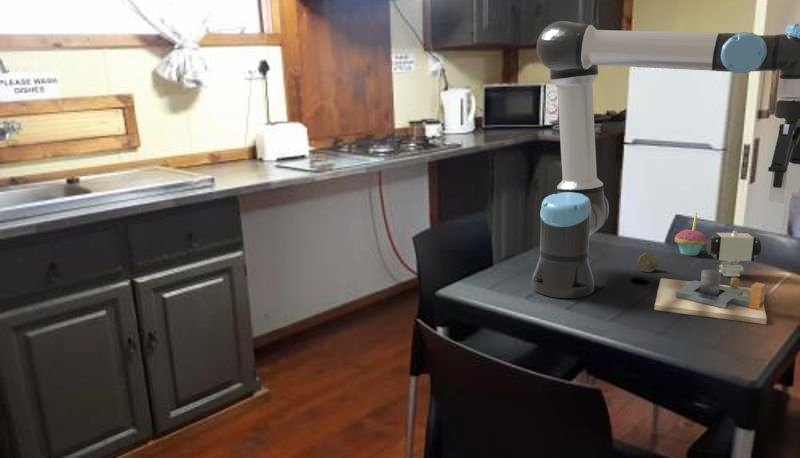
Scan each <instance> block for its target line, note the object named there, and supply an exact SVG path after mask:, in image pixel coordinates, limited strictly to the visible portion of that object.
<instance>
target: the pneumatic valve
mask: <svg viewBox="0 0 800 458" xmlns="http://www.w3.org/2000/svg"><path fill="white" fill-rule="evenodd" d="M761 251H762V243H761V240H760V239H759V238H757V237H756V236H755V235H753V234H752V233H749V232H738V231H737V230H733V231H732V232H713V234H712V235H711V237H707V239H706V253H707V255H711V257H712V258H713V259H714V260H715V261H721V262H720V264H719V265H718V271H719V272H721V275H722V276H724V277H726V278H727V277H729V278H739V277H741V275H742V274H743V272H744V266H743V264H740V262H754V261H755V258H756V257H757V256H760V254H761Z"/></svg>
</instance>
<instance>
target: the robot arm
mask: <svg viewBox="0 0 800 458" xmlns="http://www.w3.org/2000/svg"><path fill="white" fill-rule="evenodd" d="M536 54H537V57H538V59H539V61H540V63H541V64H542V65H543V66H544V67H545V68H547V69H548V70H549V74H550V77H549V78H550V82H551V83H552V84H553V85H554V86H555V87H556V88H557V89H556V90H557V105H558V108H557V109H558V122H559V123H558V124H559V126H558V127H559V138H560V139H559V140H560V141H559V142H560V157H561V158H560V159H561V174H562V176H561V177H562V180H561V182H559V184H558V185H557V186H556V188H557V189H556V190H557V191H556V192H557V193H552V194H550V195H547V196H546V197H544V199H543V200H542V202H541V206H540V207H541V208H540V212H539V215H540V216H539V217H540V227H539V228H540V229H539V231H540V235H539V236H540V237H539V238H540V240H539V259H538V262H537V264H536V267H535V269H534V273H533V275H532V278H531V288H532V290H533V291H534V292H536V293H538V294H540V295H543V296H547V297H552V298H560V299H575V298H576V299H577V298H583V297H587V296H589V295H591V294H593V293H594V291H595V280H594V279H595V278H594V276H593V272H592V269H591V265H590V262H589V247H590V236H592V235H593V234H594V233H596V232H597V231H599V230H600V229H601V228H602V227H603V226H604V224H605V223H606V222H607V219H608V217H609V213H610V204H609V202H608V199H607V198H606V196H605V194H604V183H603V182H602V181H601V180H600V179H599V178H598V176H597V175H598V174H597V172H598V171H597V154H596V134H595V131H596V130H595V115H594V114H595V113H594V93H593V92H594V91H593V84H594V82H595V80H596V79H597V78H598V77H599V66H609V67H610V66H611V67H628V68H633V67H634V68H648V69H649V68H650V69H651V68H652V69H667V70H668V69H671V70H689V71H691V70H693V71H710V72H712V71H713V72H725V73H728V72H729V73H734V74H747V73H750V72H751V73H752V72H770V71H771V72H776V71H778V72H779V73H780V74H779V78H778V85H777V93H776V97H778V98H779V100H777V101H776V103H775V110H774V117H775V118H777V119H784V120H785V121H784V123H780V125H779V126H778V134H777V135H778V136H777V139H776V142H775V148H774V152H773V156H772V160H771V164H770V166H768V169H767V171H768V172H770V173H772V174H771V180H770V189H769V197H768V202H769V203H778V204H784V203H785V198H786V193H791V194H792V193H793V194H799V191H800V23H791V24H787V26H786V27H785V31H784V33H780V34H766V35H764V34H763V35H758V34H755V33H754V32H740V33H738V32H733V33H732V32H724V33H723V32H721V33H720V32H701V31H700V32H699V31H698V32H695V31H692V32H691V31H690V32H689V31H659V30H658V31H656V30H612V29H611V30H608V29H605V30H604V29H597V28H596V27H595V26H594V25H592V24H586V23H584V22H573V21H569V20H560V21H555V22H553V23H551V24H549V25H547V26H546V27H545V28H544V29H543V30H542V31H541V33H540V35H539V36H538V39H537V42H536Z"/></svg>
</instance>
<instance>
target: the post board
mask: <svg viewBox="0 0 800 458" xmlns="http://www.w3.org/2000/svg"><path fill="white" fill-rule="evenodd" d="M700 275H701V276H700V281H701V284H700V292H698V293H702V294H707V295H711V296H716V297H718V296H719V295H721V294H719V288H720V286H725V287H730V288H734V289H739V290H743V295H742V296H745V297H750V295H751V287H746V286H745V287H744V286H740V279H741V278H739V277H730V285H726V284H725V285H724V284H721V280H722V279H721V277H722V273H721V272H719V270H717V269H702V270H701V274H700ZM691 282H692V281H688V280H681V279H670V278H660V280H659V285H658V288H657V293H656V298H655V303H654V311H660V312H668V313H675V314H682V315H690V316H697V317H698V316H699V317H708V318H715V319H722V320H728V321H729V320H730V321H739V322H744V323H751V324H752V323H753V324H761V325H767V321H768V318H767V314H766V309H765V304H764V305H763V306H762V307H761V308H760V309H755V308H750V307H746V306H741V305H737V304H731V305H729V306H728V307H727V308H722V307H718V306H713V305H709V304H705V303H700V302H696V301H692V300H687V299H683V298H679V297H675V294H676V291H678V290H679V289H681V288H683V287H684V286H686V285H687V284H689V283H691Z"/></svg>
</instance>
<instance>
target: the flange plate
mask: <svg viewBox="0 0 800 458" xmlns="http://www.w3.org/2000/svg"><path fill="white" fill-rule="evenodd" d="M700 284H701V280H695V279H694V280H692V281H691V283H689V284H687V285H686V286H684V287H683V288H681V289H679V290H678V291H676V294H675V297H679V298H683V299H687V300H692V301H696V302H700V303H705V304H709V305H713V306H718V307H722V308H727V307H728V306H729V305H731V304H737V305H741V306H746V307H750V308H755V309H760V308H761V307H762V306H763V305H764V306H765V304H764V303H765V296H766V289H767V284H766V283H761V282H758V281H757V282H754V283H753V284H752V285H751V287H750V288H751V295H750V297H745V296H742V295H743V290H739V289H734V288H730V287H725V286H720V288H719V294H721V295H719V296H718V297H716V296H711V295H707V294H702V293H698V292H700Z"/></svg>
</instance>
